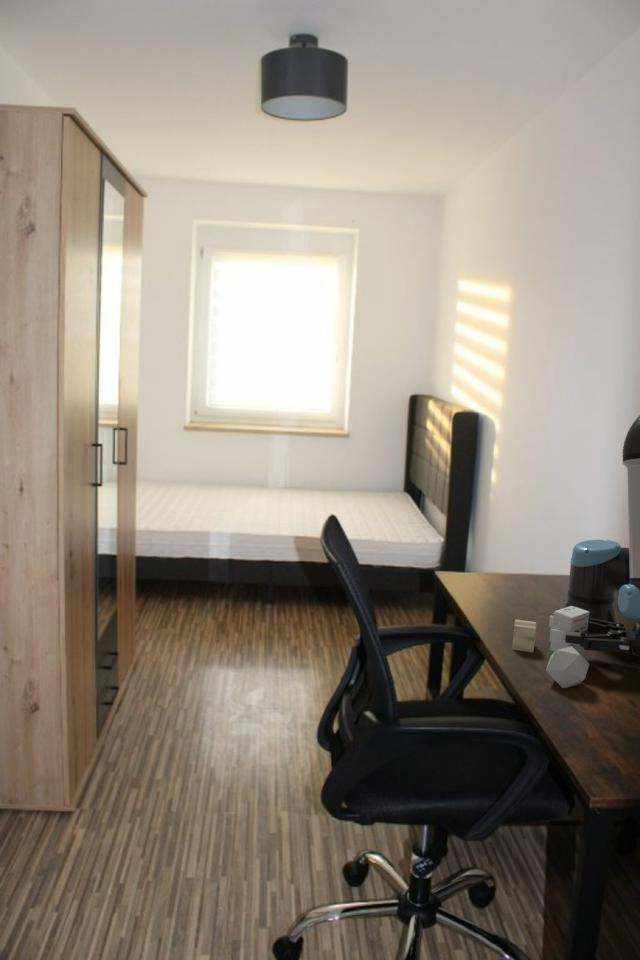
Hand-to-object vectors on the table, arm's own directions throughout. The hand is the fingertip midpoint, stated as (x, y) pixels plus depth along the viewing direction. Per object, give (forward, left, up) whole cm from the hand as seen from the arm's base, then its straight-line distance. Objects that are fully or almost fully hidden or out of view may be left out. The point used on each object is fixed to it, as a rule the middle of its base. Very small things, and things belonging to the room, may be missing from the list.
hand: (549, 628), depth 194 cm
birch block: (-5, -6, -7) cm, 11 cm away
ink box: (0, +4, -7) cm, 8 cm away
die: (+15, +4, -8) cm, 17 cm away
